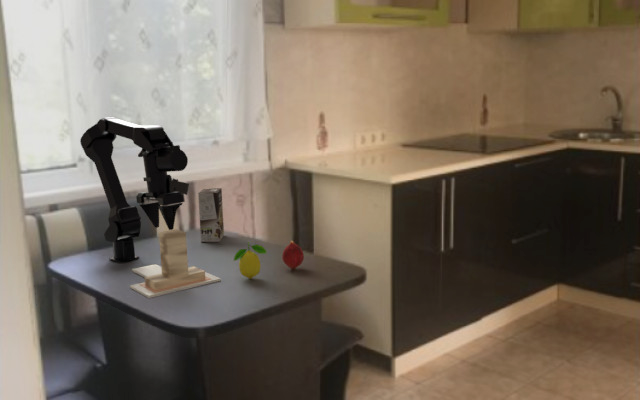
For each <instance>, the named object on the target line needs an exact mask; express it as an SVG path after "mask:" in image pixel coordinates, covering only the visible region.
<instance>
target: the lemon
mask: <svg viewBox="0 0 640 400" xmlns="http://www.w3.org/2000/svg"><path fill="white" fill-rule="evenodd" d="M250 247H251V248H252V250H253V251H254V252H253V251H252V250H251V249H250ZM267 252H268V251H266V249H265V247H263V245H260V244H254V245H250V242H249V241H248V242H247V248H241V249H239V250H238V251H237V252H236V253H235V255H234V258H233V262H235V261H238V260H239V263H238V267H239V272H240V274H241V275H242V276H244V277H245V278H247V279H248V280H251V279H253V278H254V277H256V276H257V275H259V273H260V271H261V260H260V258H259V255H257V254H256V253H258V254H262V255H263V254H267Z"/></svg>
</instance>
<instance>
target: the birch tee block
mask: <svg viewBox="0 0 640 400" xmlns="http://www.w3.org/2000/svg"><path fill="white" fill-rule="evenodd" d="M158 240H159V253H160V256H159V257H160V266H161V269H162V274H157V275H152V276H148V277H144V282H145V285H147V286H148V287H150V288H152V289H154V290H159V289H163V288H167V287H171V286H176V285H180V284H184V283H188V282H193V281H197V280H201V279H205V272H206V271H205V270H203V269H201V268H199V267H197V266H194V265H193V266H190V267H189V260H188V248H187V247H188V246H187V244H188V243H187V232H186V231H183V230H180V229H177V228H176V229H173V230H165V231H159V232H158Z"/></svg>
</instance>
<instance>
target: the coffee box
mask: <svg viewBox="0 0 640 400" xmlns="http://www.w3.org/2000/svg"><path fill="white" fill-rule="evenodd" d="M222 193H223V191H222V187H221V188H219V187H218V188H216V187H215V188H203V189H201V190H200V191H199V192H198V209H199V210H198V211H199V214H198V215H199V227H200V230H199V231H200V242H201V243H206V242H207V243H209V242H216V243H217V242H221V241H222V239H223V237H224V236H225V228H224V227H225V226H224V225H225V223H224V211H223V210H224V209H223V208H224V206H223V194H222Z"/></svg>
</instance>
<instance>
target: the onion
mask: <svg viewBox="0 0 640 400" xmlns="http://www.w3.org/2000/svg"><path fill="white" fill-rule="evenodd" d="M281 256H282V257H281V259H282V262H283V263H284V264H285V265H286V266H287V267H288V268H290V269H291V270H295V269H297V268H298V267H300V265H301V264H302V263H303V262H304V258H305V257H304V256H305V255H304V252H303V249H302V248H301V247H300V246H299V245H298V244H296V242H295V241H293V240H290V243H289V244H288V245H287V246H286V247H285V248H284V249H283V252H282V255H281Z"/></svg>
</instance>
